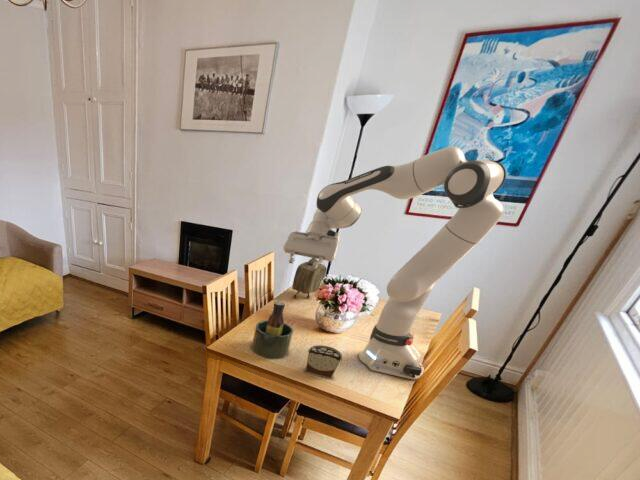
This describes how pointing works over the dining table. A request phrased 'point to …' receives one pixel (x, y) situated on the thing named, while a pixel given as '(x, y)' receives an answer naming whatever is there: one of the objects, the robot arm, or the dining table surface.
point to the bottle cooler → (271, 341)
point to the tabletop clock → (308, 277)
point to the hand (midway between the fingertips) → (302, 265)
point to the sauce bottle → (276, 320)
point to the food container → (323, 360)
